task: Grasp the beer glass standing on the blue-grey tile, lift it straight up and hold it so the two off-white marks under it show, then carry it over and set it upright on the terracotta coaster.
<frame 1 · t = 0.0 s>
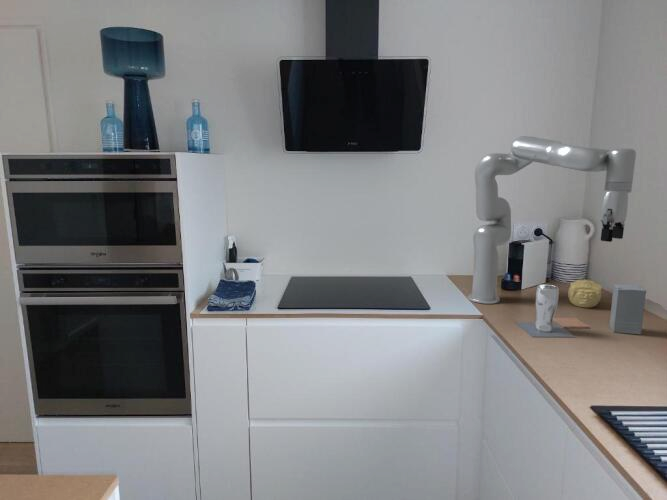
hand: (611, 239, 149), 31 cm above the worktop, tool pointing down, fingers open, 9 cm apart
blue-grey tile: (543, 329, 154), on the worktop
coaster: (569, 323, 160), on the worktop
skincare box: (624, 331, 153), on the worktop
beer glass: (543, 329, 154), resting on blue-grey tile
sculpture: (582, 305, 182), on the worktop
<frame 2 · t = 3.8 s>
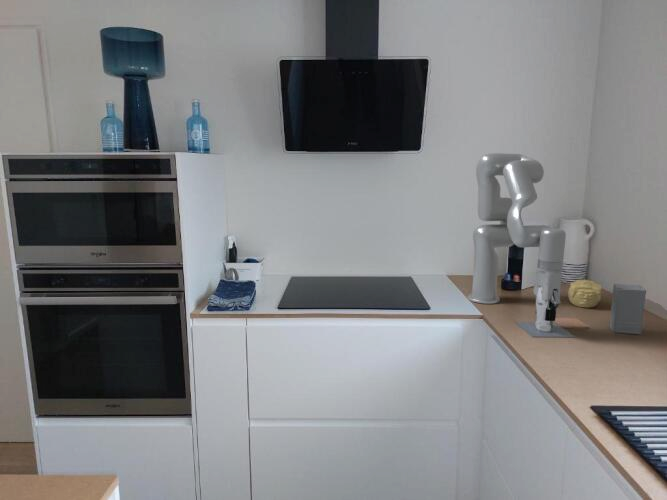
hand: (545, 316, 153), 5 cm above the worktop, tool pointing down, fingers closed on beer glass, 6 cm apart
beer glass: (543, 329, 154), resting on blue-grey tile, touching gripper
everything else where it was.
when the fingers open (6 cm above the worktop, at t = 12.6 s): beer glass drops 1 cm, resting on coaster.
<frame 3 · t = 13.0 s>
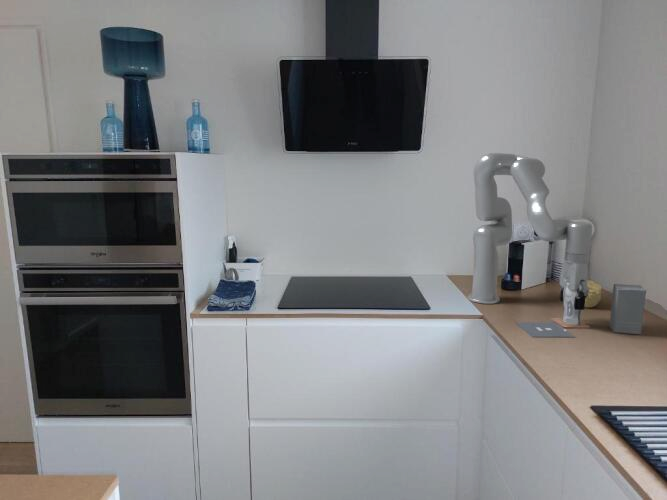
hand: (571, 305, 159), 7 cm above the worktop, tool pointing down, fingers open, 9 cm apart
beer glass: (570, 323, 159), resting on coaster
everything else where it was.
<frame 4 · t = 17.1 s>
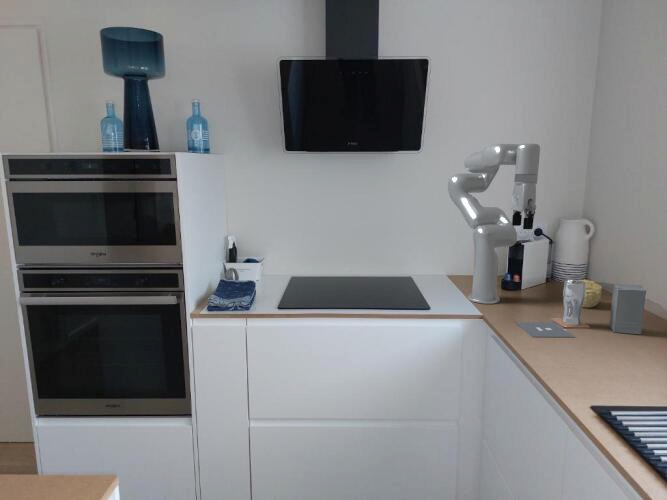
hand: (521, 227, 163), 33 cm above the worktop, tool pointing down, fingers open, 9 cm apart
nothing on the worktop moved.
at the end: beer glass 0.7 cm from the coaster (horizontally); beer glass tilted 0°; the gripper is holding nothing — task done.
